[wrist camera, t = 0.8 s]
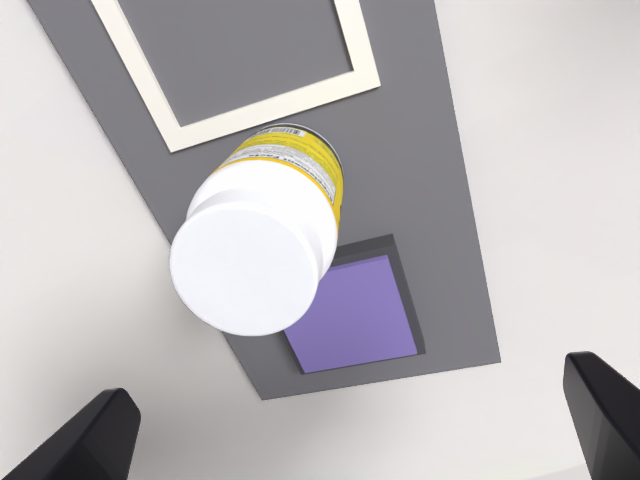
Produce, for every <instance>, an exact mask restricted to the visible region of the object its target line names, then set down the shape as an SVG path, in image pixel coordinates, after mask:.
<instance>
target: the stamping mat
mask: <svg viewBox="0 0 640 480" xmlns="http://www.w3.org/2000/svg"><path fill="white" fill-rule="evenodd" d="M28 2H29V4H30V5H31V7H32V9H33V10H34V12H35V14H36V16H37V17H38V19H39V21H40V22H41V24H42V26H43V27H44V29H45V31H46V33H47V34H48V36H49V38H50V39H51V41H52V43H53V45H54V46H55V48H56V50H57V51H58V53H59V55H60V56H61V58H62V60H63V62H64V63H65V65H66V67H67V68H68V70H69V72H70V73H71V75H72V77H73V79H74V80H75V82H76V84H77V85H78V87H79V89H80V91H81V92H82V94H83V96H84V97H85V99H86V101H87V102H88V104H89V106H90V108H91V109H92V111H93V113H94V114H95V116H96V118H97V120H98V121H99V123H100V125H101V126H102V128H103V130H104V131H105V133H106V135H107V137H108V138H109V140H110V142H111V143H112V145H113V147H114V148H115V150H116V152H117V154H118V155H119V157H120V159H121V160H122V162H123V164H124V166H125V167H126V169H127V171H128V172H129V174H130V176H131V177H132V179H133V181H134V183H135V184H136V186H137V188H138V189H139V191H140V193H141V194H142V196H143V198H144V200H145V201H146V203H147V205H148V206H149V208H150V210H151V212H152V213H153V215H154V217H155V218H156V220H157V222H158V223H159V225H160V227H161V229H162V230H163V232H164V234H165V235H166V237H167V239H168V241H169V242H170V244H171V246H172V242H173V240H174V237H175V236H176V234H177V232H178V230H179V229H180V227H181V226H182V225H183V224H184V222H185V221H186V216H187V212H188V208H189V206H190V203H191V201H192V199H193V197H194V195H195V194H196V192H197V190H198V189H199V188H200V186H201V185H202V184H203V183H204V182H205V180H206V179H207V178H208V177H209V176H210V175H211V174H212V173H213V172H214V171H215V170H216V169H217V168H218V167H219V166H220V165H221V164H222V163H223V162H224V161H225V160H226V159H227V158H228V157H229V156H230V155H231V154H232V153H233V152H234V151H235V150H236V149H237V148H238V147H239V146H240V145H241V144H242V143H243V142H244V141H245V140H246V139H247V138H248V137H250V136H251V135H252V134H253V133H255V132H256V131H258V130H260V129H262V128H264V127H267V126H270V125H274V124H281V123H291V124H297V125H301V126H304V127H307V128H309V129H311V130H313V131H315V132H317V133H318V134H320V135H321V136H322V137H324V138H325V139H326V140H327V141H328V142H329V143H330V144H331V146H332V147H333V148H334V150H335V151H336V153H337V155H338V157H339V159H340V162H341V165H342V169H343V174H344V188H343V196H342V206H341V216H340V221H339V232H338V241H337V246H336V251H335V254H334V258H333V260H332V263H331V265H330V267H329V269H328V270H327V272H326V273H325V275H324V276H323V277H322V279H321V280H320V281H319V283H318V287H317V291H316V294H315V297H314V299H313V301H312V303H311V305H310V307H309V308H308V310H307V311H306V312H305V314H304V315H303V316H302V317H301V318H300V319H299V320H298V321H296V322H295V323H294V324H292V325H291V326H289V327H287V328H285V329H284V330H281V331H279V332H276V333H273V334H268V335H263V336H241V335H235V334H230V333H227V332H224V331H222V333H223V334H224V336H225V338H226V339H227V341H228V343H229V344H230V346H231V348H232V350H233V351H234V353H235V355H236V356H237V358H238V360H239V362H240V363H241V365H242V367H243V368H244V370H245V372H246V373H247V375H248V377H249V379H250V380H251V382H252V384H253V385H254V387H255V389H256V390H257V392H258V394H259V396H260V397H261V399H262V400H268V399H275V398H281V397H287V396H294V395H300V394H306V393H312V392H319V391H325V390H331V389H338V388H344V387H350V386H356V385H363V384H369V383H375V382H381V381H388V380H394V379H400V378H407V377H413V376H419V375H425V374H432V373H438V372H444V371H450V370H457V369H463V368H469V367H476V366H482V365H488V364H494V363H501V358H500V353H499V347H498V342H497V337H496V331H495V326H494V320H493V315H492V310H491V304H490V299H489V294H488V288H487V283H486V277H485V272H484V267H483V261H482V256H481V251H480V245H479V240H478V234H477V229H476V224H475V218H474V213H473V208H472V202H471V197H470V191H469V186H468V181H467V175H466V170H465V165H464V159H463V154H462V149H461V143H460V138H459V132H458V127H457V122H456V116H455V111H454V106H453V100H452V95H451V89H450V84H449V79H448V73H447V68H446V63H445V57H444V52H443V46H442V41H441V36H440V30H439V25H438V20H437V14H436V9H435V3H434V0H28Z"/></svg>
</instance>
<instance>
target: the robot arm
mask: <svg viewBox="0 0 640 480" xmlns="http://www.w3.org/2000/svg"><path fill="white" fill-rule="evenodd" d="M563 389H564V394H565V397H566V400H567V404H568V407H569V410H570V413H571V416H572V419H573V423H574V426H575V429H576V432H577V435H578V438H579V442H580V445H581V448H582V451H583V454H584V457H585V461H586V464H587V467H588V469H589V473H590V476H591V479H592V480H640V389H638V388H637V387H636V386H635V385H633V384H632V383H631V382H630V381H628V380H627V379H626V378H625V377H623V376H622V375H621V374H620V373H618V372H617V371H616V370H615V369H613V368H612V367H611V366H610V365H608V364H607V363H606V362H605V361H603V360H602V359H601V358H600V357H599V356H597V355H596V354H595V353H593V352H590V351H584V352H571V353H568V354H567V355H566V358H565V367H564V376H563ZM140 421H141V414H140V411H139V409H138V407H137V406H136V404H135V403H134V401H133V400H132V398H131V397H130V395H129V394H128V392H127V391H126V390H125V389H123V388H114V389H106V390H104V391H102V392H101V393H100V394H99V395H97V396H96V397H95V398H94V399H93V400H92V401H91V402H89V403H88V404H87V405H86V406H85V407H84V408H83V409H81V410H80V411H79V412H78V413H77V414H76V415H75V416H74V417H72V418H71V419H70V420H69V421H68V422H67V423H66V424H64V425H63V426H62V427H61V428H60V429H59V430H58V431H56V432H55V433H54V434H53V435H52V436H51V437H50V438H48V439H47V440H46V441H45V442H44V443H43V444H42V445H40V446H39V447H38V448H37V449H36V450H35V451H34V452H33V453H31V454H30V455H29V456H28V457H27V458H26V459H25V460H23V461H22V462H21V463H20V464H19V465H18V466H17V467H15V468H14V469H13V470H12V471H11V472H10V473H9V474H7V475H6V476H5V477H4V478H3V479H2V480H127V477H128V473H129V469H130V465H131V460H132V456H133V452H134V447H135V443H136V439H137V435H138V430H139V426H140Z"/></svg>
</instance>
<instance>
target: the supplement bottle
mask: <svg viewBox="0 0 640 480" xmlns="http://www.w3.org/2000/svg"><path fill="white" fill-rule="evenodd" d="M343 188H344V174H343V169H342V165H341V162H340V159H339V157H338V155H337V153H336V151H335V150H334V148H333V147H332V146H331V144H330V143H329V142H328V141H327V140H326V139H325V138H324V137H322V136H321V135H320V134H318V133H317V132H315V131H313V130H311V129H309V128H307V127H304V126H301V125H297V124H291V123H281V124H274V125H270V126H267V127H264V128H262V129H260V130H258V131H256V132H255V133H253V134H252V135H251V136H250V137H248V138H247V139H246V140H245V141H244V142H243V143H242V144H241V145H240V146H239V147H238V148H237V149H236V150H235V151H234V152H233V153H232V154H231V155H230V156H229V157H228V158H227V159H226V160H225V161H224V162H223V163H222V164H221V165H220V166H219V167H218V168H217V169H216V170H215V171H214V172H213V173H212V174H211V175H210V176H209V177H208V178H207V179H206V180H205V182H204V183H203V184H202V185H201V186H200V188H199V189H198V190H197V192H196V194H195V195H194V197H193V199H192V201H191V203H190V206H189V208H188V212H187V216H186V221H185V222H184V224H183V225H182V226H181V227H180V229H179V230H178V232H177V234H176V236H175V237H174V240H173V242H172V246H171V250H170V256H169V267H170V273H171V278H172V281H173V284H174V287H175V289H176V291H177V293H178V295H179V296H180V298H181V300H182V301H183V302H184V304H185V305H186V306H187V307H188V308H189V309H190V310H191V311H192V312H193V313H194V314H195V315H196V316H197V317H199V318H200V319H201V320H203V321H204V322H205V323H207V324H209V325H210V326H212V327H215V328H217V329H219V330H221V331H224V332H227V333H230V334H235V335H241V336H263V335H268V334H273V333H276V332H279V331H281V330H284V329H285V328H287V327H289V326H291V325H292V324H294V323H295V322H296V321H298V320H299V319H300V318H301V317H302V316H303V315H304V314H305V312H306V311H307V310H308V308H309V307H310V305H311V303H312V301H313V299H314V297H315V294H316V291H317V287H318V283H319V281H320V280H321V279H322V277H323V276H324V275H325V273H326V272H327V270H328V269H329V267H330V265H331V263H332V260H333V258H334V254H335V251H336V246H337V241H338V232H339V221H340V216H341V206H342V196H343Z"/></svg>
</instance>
